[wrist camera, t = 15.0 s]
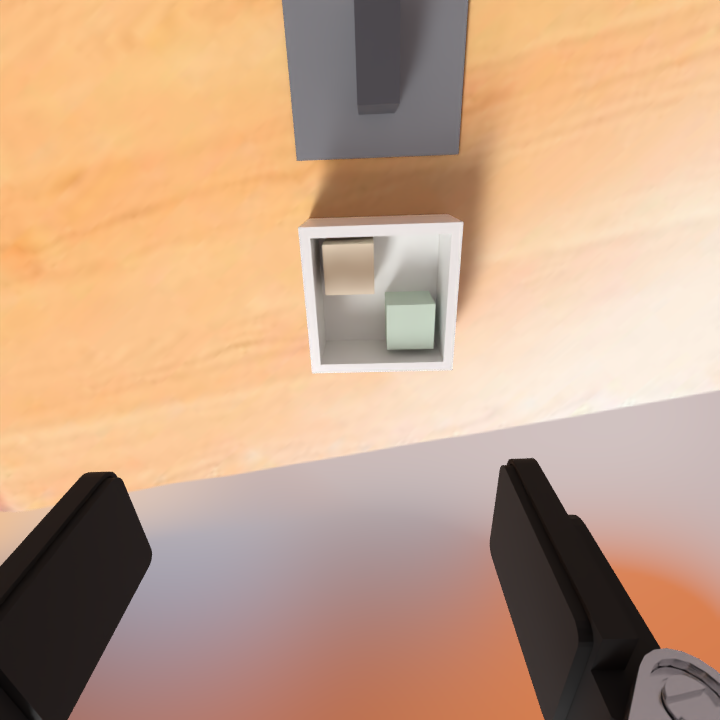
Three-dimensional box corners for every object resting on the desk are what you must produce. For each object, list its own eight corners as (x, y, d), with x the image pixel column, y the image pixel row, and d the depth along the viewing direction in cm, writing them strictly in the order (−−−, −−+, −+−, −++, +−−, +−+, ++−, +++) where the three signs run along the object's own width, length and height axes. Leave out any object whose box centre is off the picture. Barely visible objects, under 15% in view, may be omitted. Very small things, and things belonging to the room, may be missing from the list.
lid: (279, -50, 27) (258, -103, 22) (469, -60, 27) (494, -117, 22) (298, 160, 33) (285, 159, 28) (455, 154, 33) (473, 151, 27)
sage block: (384, 292, 36) (386, 305, 33) (428, 290, 36) (435, 304, 33) (385, 332, 38) (386, 349, 34) (427, 331, 38) (433, 348, 34)
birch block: (326, 237, 34) (321, 245, 31) (372, 235, 34) (373, 243, 31) (329, 282, 36) (325, 295, 32) (373, 281, 36) (374, 294, 32)
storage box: (308, 218, 34) (298, 227, 29) (448, 213, 34) (463, 221, 29) (319, 345, 40) (312, 373, 34) (440, 342, 39) (452, 370, 34)
